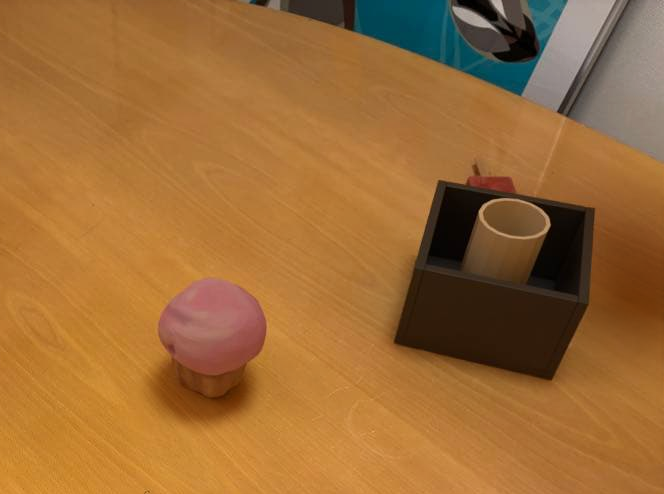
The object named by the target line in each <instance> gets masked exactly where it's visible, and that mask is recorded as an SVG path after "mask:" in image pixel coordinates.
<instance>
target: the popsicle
mask: <svg viewBox="0 0 664 494" xmlns="http://www.w3.org/2000/svg"><path fill="white" fill-rule="evenodd" d="M474 161H475V165H476V167H477V168H476V169H477V170H478V173H479V175H476V176H475V175H471V176H468V177H467V179H466V183H465V185H470V186H476V187H481V188H487V189H492V190H498V191H503V192H509V193H514V194H518V193H517V192H516V191H517V190H516V188H515V185H514V181H513V180H512V177H511V176H502V175H501V176H498V175H497V176H495V175H493V176H492V175H491V174H490V171H489V168H488V166H487V163H486V160H485V158H484V157H483V156H482V155H475V156H474Z"/></svg>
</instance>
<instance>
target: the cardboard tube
mask: <svg viewBox="0 0 664 494" xmlns="http://www.w3.org/2000/svg"><path fill="white" fill-rule="evenodd" d="M550 226H551V224H550V219H549V217H548V215H547V214H546V213H545V212H544V211H543V210H542V209H540V208H539V207H537V206H535V205H534V204H532V203H529V202H526V201H522V200H519V199H510V198H501V199H494V200H491V201H489V202H487V203H485V204H483V205H482V207H481V208H480V210H479V212H478V215H477V218H476V221H475V224H474V227H473V230H472V233H471V236H470V239H469V243H468V246H467V249H466V252H465V255H464V258H463V261H462V264H461V267H460V270H459V271H461V272H466V273H470V274H475V275H480V276H485V277H490V278H495V279H499V280H504V281H509V282H514V283H519V284H523V285H527V283H528V280H529V278H530V275H531V273H532V270H533V268H534V265H535V263H536V260H537V258H538V256H539V253H540V251H541V248H542V246H543V243H544V241H545V238H546V236H547V233H548V231H549V229H550Z"/></svg>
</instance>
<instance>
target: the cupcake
mask: <svg viewBox="0 0 664 494" xmlns="http://www.w3.org/2000/svg"><path fill="white" fill-rule="evenodd" d="M157 334H158V338H159V341H160V344H162V346H163V348H164V349H165V350H166V351H167V353H168V354H169V355H170V356H171V361H172V362H171V363H172V364H171V365H172V371H173V374H174V378H175V380H176V381H177V382H178V383H179V384H180V385H181V386H183V387H185V388H187V389H188V390H192V391H195V392H197V393H199V394H201V395H203V396H204V397H205V398H211V399H213V398H218V397H222V396H224V395H225V394H226V393H227V391H229V390H230V389H232V388H234V387H236V386H237V385H238V384H239V383H240V381H241V379H242V377H243V374H244V372H245V369H246V367H247V365H248V363H249V362H251V361H252V360H254V359H255V358H256V357H258V356H259V355H260V353H261V352H262V350H263V347H264V345H265V341H266V337H267V319H266V317H265V313H264V311H263V308H262V307H261V304H260V302H259V300H257V298H256V297H255V296H254V295H253V294H251V293H250V292H249V291H247V290H246V289H245V288H243V287H242V286H240V285H238V284H236V283H233V282H231V281H229V280H226V279H223V278H218V277H204V278H200V279H198V280H195V281H194V282H193V283H191V284H190V285H188V286H187V287H186V288H185V289H183V290H182V291H181V292H179V293H177V294H176V295H174V296H173V297H172V299H170V300H169V302H168V303H167V305H166V306H165V307H164V308H163V310H162V312H161V314H160V317H159V319H158V323H157Z"/></svg>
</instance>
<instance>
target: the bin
mask: <svg viewBox="0 0 664 494" xmlns="http://www.w3.org/2000/svg"><path fill="white" fill-rule="evenodd" d="M501 198H510V199H519V200H522V201H526V202H529V203H532V204H534V205H535V206H537V207H539V208H540V209H542V210H543V211H544V212H545V213H546V214H547V215H548V217H549V219H550V224H551V226H550V229H549V231H548V233H547V236H546V238H545V241H544V243H543V246H542V248H541V251H540V253H539V256H538V258H537V260H536V263H535V265H534V268H533V270H532V273H531V275H530V278H529V280H528V283H527V285H523V284H519V283H514V282H509V281H504V280H499V279H495V278H490V277H485V276H480V275H475V274H470V273H466V272H461V271H459V270H460V267H461V264H462V261H463V258H464V255H465V252H466V249H467V246H468V243H469V239H470V236H471V233H472V230H473V227H474V224H475V221H476V218H477V215H478V212H479V210H480V208H481V207H482V205H483V204H485V203H487V202H489V201H491V200H494V199H501ZM595 218H596V207H591V206H585V205H581V204H579V205H578V204H574V203H569V202H564V201H558V200H552V199H547V198H541V197H536V196H531V195H525V194H519V193H517V194H514V193H509V192H503V191H498V190H492V189H487V188H481V187H476V186H470V185H466V183H465V184H464V183H459V182H453V181H447V180H443V179H438V180H437V183H436V187H435V190H434V195H433V198H432V202H431V204H430V210H429V212H428V217H427V219H426V222H425V223H426V224H425V227H424V231H423V234H422V238H421V240H420V245H419V249H418V251H417V255H416V260H415V263H414V267H413V269H412V270H413V271H412V274H411V278H410V281H409V285H408V288H407V292H406V296H405V298H404V299H405V300H404V303H403V307H402V309H401V310H402V311H401V314H400V318H399V321H398V325H397V328H396V333H395V335H394V340H393V344H395V345H399V346H404V347H407V348H412V349H416V350H420V351H425V352H429V353H433V354H438V355H441V356H447V357H450V358H455V359H459V360H464V361H468V362H473V363H477V364H481V365H486V366H490V367H493V368H498V369H502V370H507V371H511V372H515V373H520V374H524V375H528V376H531V377H537V378H541V379H544V380H549V381H552V380H554V377H555V374H556V373H557V370H558V369H559V367H560V365H561V362H562V360H563V359H564V357H565V354H566V352H567V350H568V348H569V346H570V345H571V342H572V341H573V339H574V336H575V333H576V332H577V330H578V327H579V325H580V324H581V322H582V319H583V317H584V315H585V313H586V311H587V309H588V307H589V305H590V295H591V294H590V293H591V292H590V291H591V279H592V265H593V264H592V263H593V249H594V233H595V220H596V219H595Z"/></svg>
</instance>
